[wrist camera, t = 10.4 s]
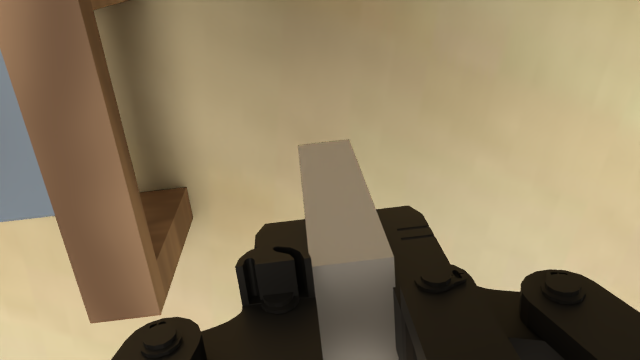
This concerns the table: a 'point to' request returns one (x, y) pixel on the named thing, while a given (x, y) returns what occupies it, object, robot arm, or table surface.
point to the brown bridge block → (90, 160)
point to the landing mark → (18, 162)
